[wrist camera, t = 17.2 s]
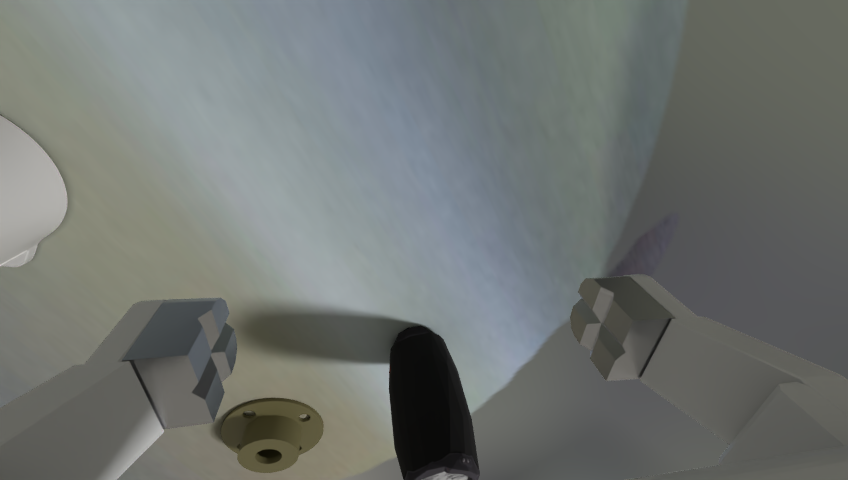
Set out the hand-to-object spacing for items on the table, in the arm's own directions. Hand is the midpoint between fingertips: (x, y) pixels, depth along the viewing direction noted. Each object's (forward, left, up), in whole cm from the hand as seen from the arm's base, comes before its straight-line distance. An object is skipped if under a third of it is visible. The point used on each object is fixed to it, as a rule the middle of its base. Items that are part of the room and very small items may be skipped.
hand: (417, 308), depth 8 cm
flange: (-16, -50, -32) cm, 61 cm away
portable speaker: (+6, -34, -31) cm, 47 cm away
